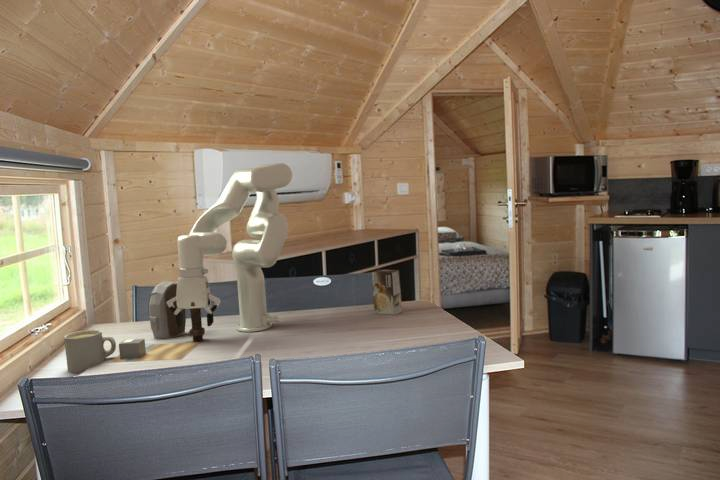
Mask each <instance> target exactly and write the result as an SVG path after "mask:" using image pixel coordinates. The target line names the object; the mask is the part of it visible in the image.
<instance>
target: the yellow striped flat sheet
mask: <svg viewBox="0 0 720 480" xmlns="http://www.w3.org/2000/svg"><path fill="white" fill-rule="evenodd" d="M201 343H202V341H200V342H177V343H176V342H175V343H173V342H172V343H157V344H156V343H153V344H150V343H149V344H145V349H146V354H144V355H143V356H142V357H140V358H125V359H120V354H118V355H116V356H115V357H114V358H112V359H110V360H109V361H107V363H129V362H132V363H133V362H152V361H157V362H158V361H174V360H175V361H177V360H179V361H180V360H183V359H184V358H185V357H186V356H187V355H189V353H191V352H192V351H193V350H194V349H195V348H196V347H197V346H198V345H200V344H201Z"/></svg>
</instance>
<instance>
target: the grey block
mask: <svg viewBox="0 0 720 480" xmlns="http://www.w3.org/2000/svg"><path fill="white" fill-rule="evenodd" d="M145 345H146V339H145V338H137V339H136V338H135V339H134V338H133V339H132V338H131V339H124V340H123V341H120V343H118V350H119V355H120V359H125V358H140V357H142V356H143V355H144V354H146V349H145Z"/></svg>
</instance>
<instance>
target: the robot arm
mask: <svg viewBox="0 0 720 480" xmlns="http://www.w3.org/2000/svg"><path fill="white" fill-rule="evenodd" d="M292 179H293V171H292V169H291V167H290V166H289V165H288V164H285V163H283V162H277V163H266V164H259V165H256V166H254V167H249V168H247V167H246V168H241V169H237V170H235V171H234V172H233V173H232V175H230V178H229V180H227V183H226V185H225V187H224V189H223V190H222V192H221V194H220V196H219V198H218V199H217V201H216V202H215V203H214V204H213V205H212V206H211V207H210V208H209V209H208V210H206V211H205V212H203V214H202V215H201V216H200V217H198V219H197V221H196V222H195V223H194V225H193V227H192V229H191V230H190V232H189V234H183V235H180V236H178V237H177V253H178V254H177V255H178V256H177V257H178V268H179V269H178V270H179V277H178V278H177V283H176V284H177V293H176V296H175V297H174V298H172V299H170V300H168V301H167V302H166V303H167V305H168V306H169V308H170V310H171V311H172V312H173V313H174V314H175V315H176V324H178V327H181V326H182V325H183V316H182V313H181V311H182V310H183V309H186V310H190V309H200V308H201V309H204V310H205V311H206V312H207V313H206V324H207V327H211V326H212V325H213V324H214V320H215V319H214V312H215V311H216V310H217V309H218V308H219V305H220V304H221V298H219V297H217V296H214V295H213V294H211V290H210V289H211V288H210V284H209V283H210V282H209V279H208V276H207V275H206V274H209V269H208V268H205V266H204V256H218V255H221V254H223V253H224V252H225V250H227V247H228V242H227V241H228V240H227V238H226V237H225V236H224V235H223V234H221V233H219V232H215V231H216V230H217V228H219V227H220V226H222V225H223V224H225V223H227V222H229V221H231V220H233V219H235V218H236V217H238V216H239V215H240V214H241V212H242V210H243V208H244V206H245V204H246V203H247V201H248V199H249V197H250V195H251V194H252V193H253V194H254V193H255V194H256V200H255V203H254V206H253V209H252V210H251V214H250V216H249V219H248V221H247V224H246V229H245V230H246V233H247V235H248V236H249V237H250V238H253V239H242V240H239V241H237V242H236V243H235V244H234V246H233V247H232V251H231V256H232V261H233V264H234V268H235V273H236V283H237V295H238V296H237V297H238V308H239V309H238V310H239V324H236V330H237V331H238V332H244V333H245V332H246V333H248V332H249V333H250V332H251V333H252V332H260V331H264V330H267V329H270V328H271V327H272V326H273V323H280V316H277V315H272V316H271V315H270V312H267V311H268V309H267V296H266V282H265V275H264V272H263V270H262V268H271V267H273V266H274V265H275V264H276V263H277V261H278V259H279V257H280V255H281V251H282V249H283V247H284V244H285V241H286V239H287V236H288V231H289V223H288V219H287V217H286V216H285V215H284V214H282V213H280V212H278V211H279V207H280V200H279V196H278V193H277V191H276V190H278V189H283V188H285V187H287V186H288V185H290V184H291V181H292ZM174 301H177V307H178V308H176V307H175V306H174V305H173V302H174ZM191 302H194V303H195V306H191ZM212 302H214V304H213V306H211V305H212Z"/></svg>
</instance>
